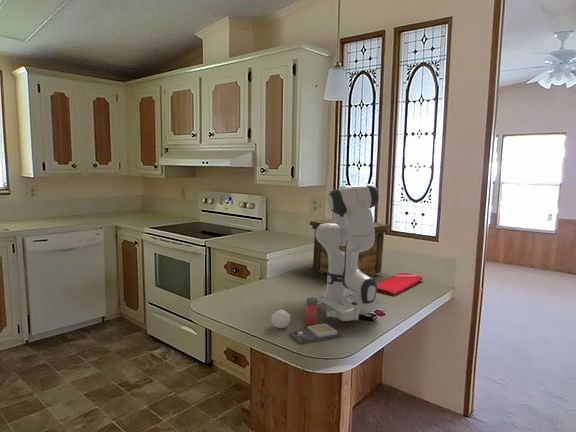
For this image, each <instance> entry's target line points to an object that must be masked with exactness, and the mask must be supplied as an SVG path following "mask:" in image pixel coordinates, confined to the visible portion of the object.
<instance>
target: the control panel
mask: <svg viewBox="0 0 576 432" xmlns="http://www.w3.org/2000/svg"><path fill="white" fill-rule="evenodd" d="M342 334H343V333H342V332H340V331H339V330H337V329H336V328H334V327H333V326H332V325H329V324H327V323H319V324H316V325H313V326H307V327H306V328H305V329H299V328H294V329H293V330H292V331H289V332H288V335H289V336H290V337H291V338H292V339H294V340H295V341H296V342H297V344H299V345H302V344H308V343H315V342H319V341H325V340H329V339H335V338H340V337H341V338H342Z"/></svg>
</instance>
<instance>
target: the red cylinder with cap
mask: <svg viewBox="0 0 576 432" xmlns="http://www.w3.org/2000/svg"><path fill="white" fill-rule="evenodd" d="M317 303H318V298H317V297H313V296H310V297H306V304H305V306H306V308H305V324H304V325H305V326H304V327H305V328H307V326H313V325H317V310H318V309H317Z"/></svg>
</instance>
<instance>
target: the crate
mask: <svg viewBox="0 0 576 432" xmlns="http://www.w3.org/2000/svg"><path fill="white" fill-rule="evenodd" d="M326 223H335V222H334V221H333V218H330V219H321V220H320V219H319V220H310V221H309V226H312V227H311V229H313V230H314V241H313V260H312V269H313V270H316V271H317V273H319V274H322V275H327V271H328V266H329V262H328V254H327V251H326V249H325V248H324V247H323V245H322V244H320V243H319V242H318V240H317V239H316V229H317V227H318V226H319V225H320V224H326ZM390 228H391V225H390V224H387V223H380V222H379V223H378V222H374V229H375V241H374V244H373V246H372V247H371V248H370V249H368V250H366V251H363V252H359V254H358V268H359V270H360V271H361V272H362V273H364V274H365V275H367V276H369V277H371V278H373V277H375V276H376V274H380V273H381V272H382V268H383V267H382V264H383V252H384V251H383V250H384V249H383V248H384V238H385V237H384V236H385V234H386V233H387V232H388V230H389V229H390ZM339 249H340V250H341V251H343V252H344V253H345V246H339Z"/></svg>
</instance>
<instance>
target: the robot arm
mask: <svg viewBox="0 0 576 432" xmlns="http://www.w3.org/2000/svg"><path fill="white" fill-rule="evenodd" d="M379 197H380V195H379V192H378V189H377V187H376V186H375V185H374V184H372V183H371V184H370V183H365V184H357V185H342V186H340V187H338V188H337V189H336V188H335V189H333V190H330V192H329V194H328V198H327V201H328V202H327V204H328V207H329V210H330V211H331V212H332V213H331V219H333V221H334V222H335V223H326V224H320V225H319V226H318V227H317V229H316V239H317V240H318V242H319V243H320V244H322V245H323V247H324V248H325V249H326V251H327V254H328V262H329V266H328V271H327V274H326V282H327V283H326V288H325V292H324V296H323V297H319V298H317V310H319V308H321V309H322V310H324V311H325V312H324V316H325V317H327V318H329V317H332V318H337V319H339V320H340V321H344V322H348V321H349V322H350V321H358V320H359V316H360V315H366V314H371V313H373V312H375V311H377V310H378V309H379V307H380V305H381V300H380V297H379V295H378V292H377V283H378V282H377V281H376V280H375V279H374V278H373V277H370V276H367V275H365V274H364V273H362V272H361V271H360V270H359V268H358V254H359V252H363V251H366V250H368V249H370V248H371V247H372V246H373V244H374V241H375V229H374V223H375V221H374V217H373V213H372V210H371V208H374V207H376V206H377V205H378V203H379ZM339 246H345V253H344V252H343V251H341V250H340V249H339Z"/></svg>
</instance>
